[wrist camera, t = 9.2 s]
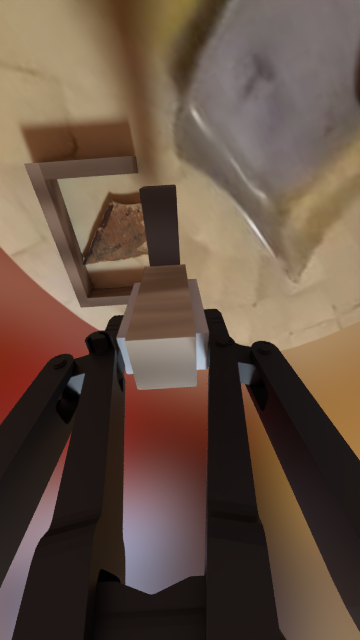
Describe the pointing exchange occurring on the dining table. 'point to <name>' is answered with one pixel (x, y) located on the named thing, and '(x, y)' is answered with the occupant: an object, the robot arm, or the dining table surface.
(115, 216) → the shard
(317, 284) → the dining table surface
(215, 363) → the robot arm
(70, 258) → the walnut bay
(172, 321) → the scraper
